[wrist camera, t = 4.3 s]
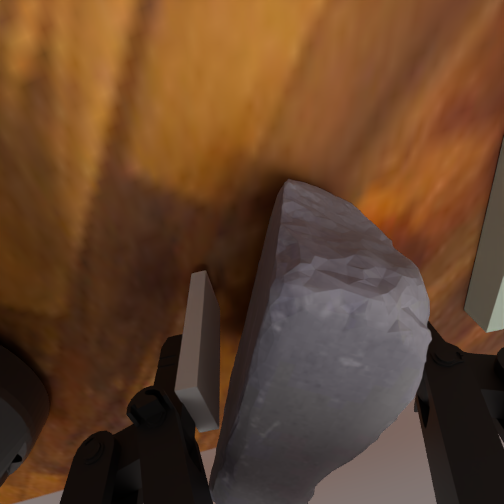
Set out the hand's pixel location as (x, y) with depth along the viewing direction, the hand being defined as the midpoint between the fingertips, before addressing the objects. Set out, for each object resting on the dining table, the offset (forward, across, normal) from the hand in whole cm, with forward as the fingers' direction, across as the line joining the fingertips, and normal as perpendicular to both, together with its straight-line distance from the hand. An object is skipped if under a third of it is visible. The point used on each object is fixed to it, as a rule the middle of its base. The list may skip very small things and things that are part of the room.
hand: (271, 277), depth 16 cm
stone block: (+1, 0, 0) cm, 1 cm away
